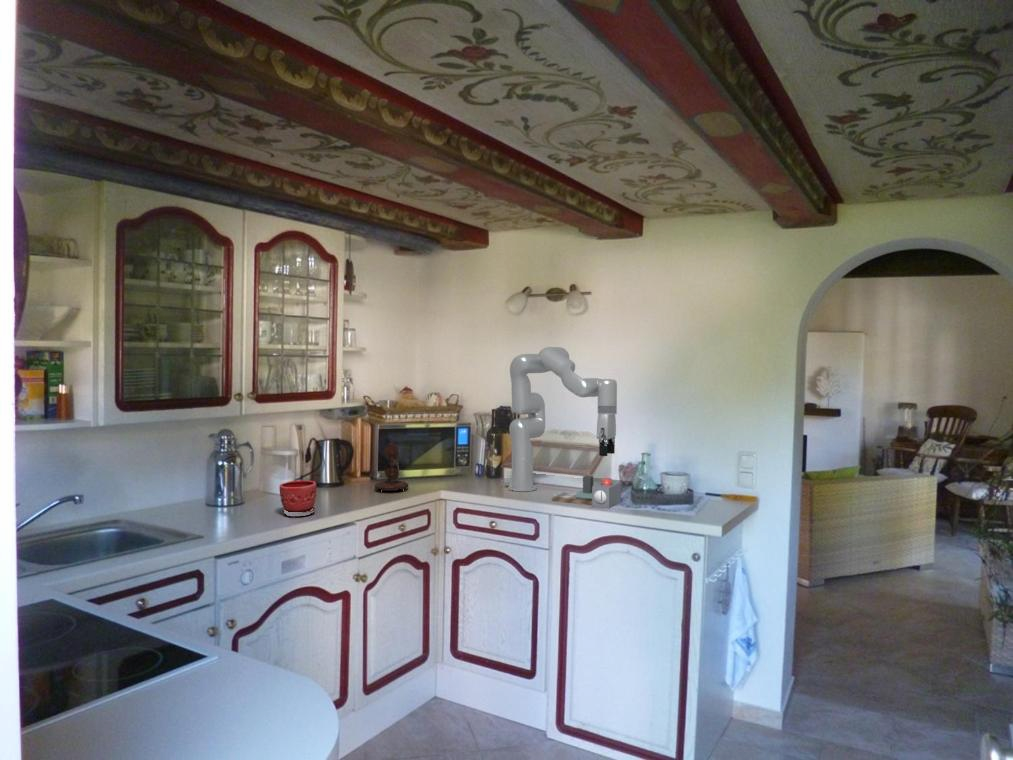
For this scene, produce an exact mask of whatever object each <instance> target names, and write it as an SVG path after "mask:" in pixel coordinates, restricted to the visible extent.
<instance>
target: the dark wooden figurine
mask: <svg viewBox="0 0 1013 760" xmlns="http://www.w3.org/2000/svg"><path fill="white" fill-rule="evenodd" d="M384 447H385V448H384V455H385V456H386V458H387V459H388V463H389V465H387V466H386V467H385V468H384V474H385V477H386V478H387V480H383V481H382V480H381V481H378V482H377V483H375V484H374V487H375V488H376V489H375V488H374V489H375V490H378V489H381V490H383V491H399V490H398V489H401V490H402V489H404V488H406V489H408V488H409V487H408V486H409V483H408V482H406V481H404V480H398V479H399V477H400V467H399V459H398V455H399V449H398V447H397V446H396V445H395V444H393V443H390V444H387V445H386V446H384ZM395 461H396V466H397V467H396V466H395ZM407 487H408V488H407Z"/></svg>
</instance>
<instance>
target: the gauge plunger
mask: <svg viewBox="0 0 1013 760" xmlns="http://www.w3.org/2000/svg"><path fill="white" fill-rule="evenodd" d="M601 482H602V485H608V486H611V482H613V480H612V478H608V477H607V478H606V477H605V478H602V479H601Z"/></svg>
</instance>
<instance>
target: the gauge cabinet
mask: <svg viewBox="0 0 1013 760" xmlns="http://www.w3.org/2000/svg"><path fill="white" fill-rule="evenodd" d="M620 503H622V482H621V481H612V482H611V486H608V485H602V481H601V482H599V483H597V484H593V486H592V505H591V506H592V508H600V509H601V508H603V509H610V508H612V507H614V506H617V505H618V504H620Z"/></svg>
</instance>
